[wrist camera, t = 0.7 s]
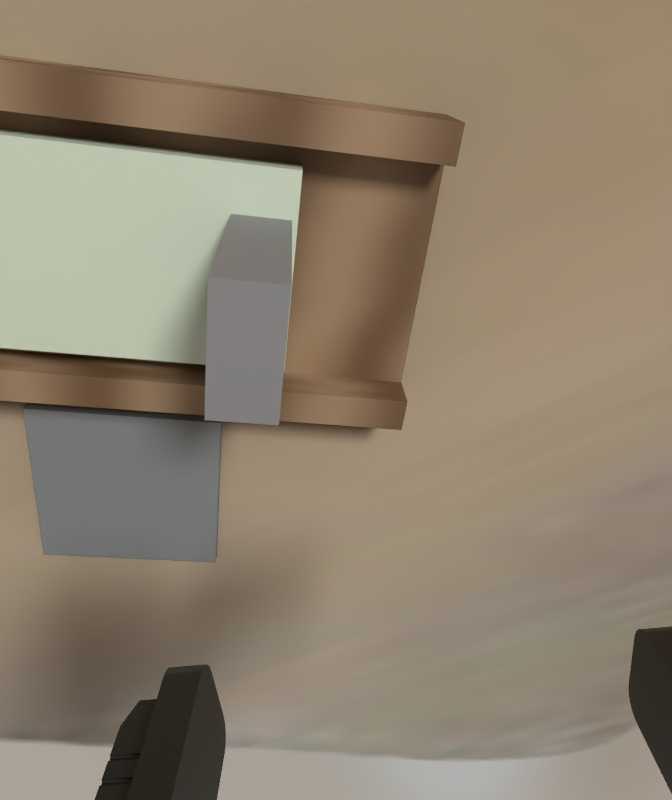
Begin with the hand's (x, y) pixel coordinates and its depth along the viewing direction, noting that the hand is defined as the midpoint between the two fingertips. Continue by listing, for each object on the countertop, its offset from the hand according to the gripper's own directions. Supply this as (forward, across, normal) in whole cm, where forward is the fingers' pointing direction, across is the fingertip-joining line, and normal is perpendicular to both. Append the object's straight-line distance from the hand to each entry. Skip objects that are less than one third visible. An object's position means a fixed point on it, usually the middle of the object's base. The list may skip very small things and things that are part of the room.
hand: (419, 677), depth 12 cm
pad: (+22, +14, +8) cm, 27 cm away
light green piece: (+19, +14, -6) cm, 24 cm away
